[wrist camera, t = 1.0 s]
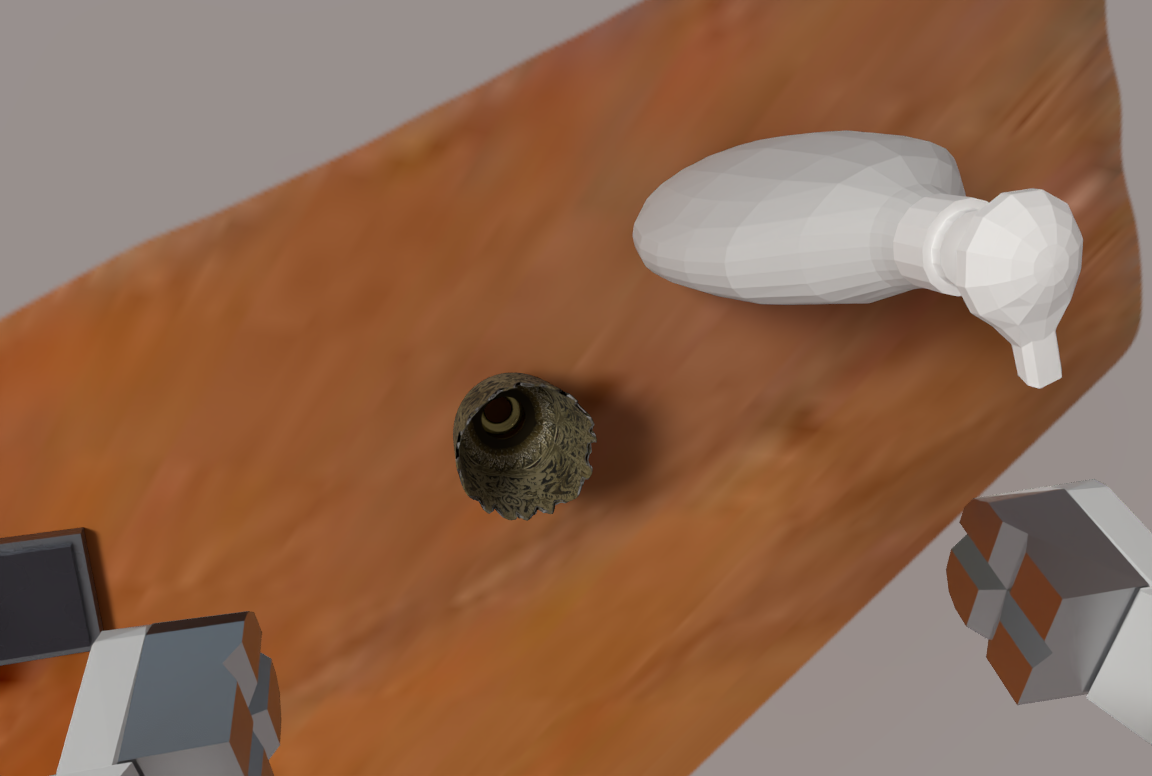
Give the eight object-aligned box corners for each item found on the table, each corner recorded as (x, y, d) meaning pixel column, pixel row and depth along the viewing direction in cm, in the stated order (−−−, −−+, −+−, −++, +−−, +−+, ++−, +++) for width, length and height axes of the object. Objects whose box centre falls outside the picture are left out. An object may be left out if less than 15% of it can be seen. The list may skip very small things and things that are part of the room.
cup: (543, 474, 58) (580, 528, 51) (424, 461, 56) (445, 515, 48) (569, 357, 56) (611, 395, 49) (447, 339, 54) (472, 375, 47)
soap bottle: (632, 317, 57) (898, 481, 32) (586, 190, 54) (840, 261, 29) (840, 223, 59) (1241, 308, 34) (807, 95, 56) (1219, 87, 31)
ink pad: (105, 641, 53) (101, 652, 52) (-35, 663, 52) (-42, 676, 50) (83, 527, 51) (78, 536, 50) (-64, 546, 49) (-72, 556, 48)
